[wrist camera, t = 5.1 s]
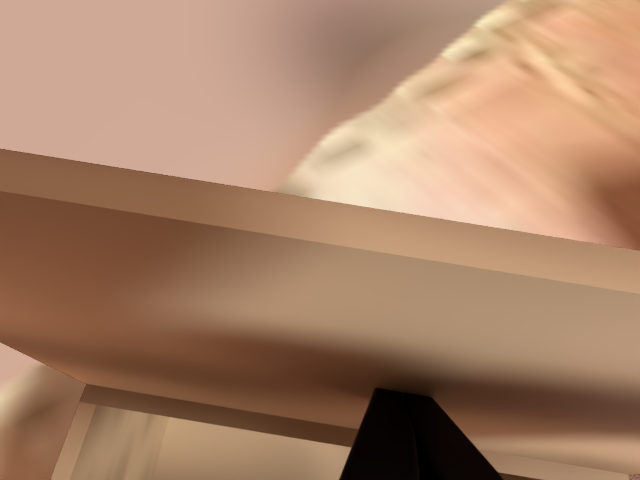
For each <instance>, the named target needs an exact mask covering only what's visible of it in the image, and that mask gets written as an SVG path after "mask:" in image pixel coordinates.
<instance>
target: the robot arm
mask: <svg viewBox="0 0 640 480" xmlns="http://www.w3.org/2000/svg"><path fill="white" fill-rule="evenodd" d="M339 480H505V479H504V478H503V477H502V476H501V475H500V474H499V473H498V472H497V470H496V469H495V468H494V467H493V466H492V465H491V464H490V462H489V461H488V460H487V459H486V458H485V457H484V456H483V454H482V453H481V452H480V451H479V450H478V449H477V448H476V446H475V445H474V444H473V443H472V442H471V441H470V440H469V439H468V437H467V436H466V435H465V434H464V433H463V432H462V431H461V429H460V428H459V427H458V426H457V425H456V424H455V423H454V421H453V420H452V419H451V418H450V417H449V416H448V415H447V413H446V412H445V411H444V410H443V409H442V408H441V407H440V406H439V404H438V403H437V402H436V401H435V400H434V399H433V398H432V397H429V396H423V395H417V394H411V393H404V394H403V393H402V392H399V391H393V390H386V389H380V388H375V389H374V391H373V394H372V396H371V399H370V401H369V404H368V407H367V409H366V412H365V414H364V417H363V419H362V422H361V424H360V427H359V430H358V432H357V435H356V437H355V440H354V442H353V445H352V447H351V450H350V453H349V455H348V458H347V460H346V463H345V465H344V468H343V470H342V473H341V476H340V478H339Z"/></svg>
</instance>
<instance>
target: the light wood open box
mask: <svg viewBox="0 0 640 480" xmlns="http://www.w3.org/2000/svg"><path fill="white" fill-rule="evenodd" d="M358 430H359V429H353V428H347V427H341V426H335V425H329V424H323V423H317V422H311V421H305V420H299V419H293V418H287V417H281V416H275V415H269V414H263V413H257V412H251V411H245V410H239V409H233V408H227V407H221V406H215V405H209V404H203V403H197V402H191V401H186V400H180V399H174V398H168V397H162V396H156V395H150V394H144V393H138V392H132V391H126V390H120V389H114V388H108V387H102V386H96V385H90V384H86V386H85V389H84V391H83V394H82V397H81V399H80V402H79V405H78V407H77V410H76V413H75V415H74V418H73V421H72V423H71V426H70V429H69V431H68V434H67V437H66V439H65V442H64V445H63V447H62V450H61V453H60V455H59V458H58V461H57V463H56V466H55V469H54V471H53V474H52V477H51V479H50V480H339V478H340V476H341V473H342V470H343V468H344V465H345V463H346V460H347V458H348V455H349V453H350V450H351V447H352V445H353V442H354V440H355V437H356V435H357V432H358ZM478 450H479V449H478ZM479 451H480V452H481V453H482V454H483V456H484V457H485V458H486V459H487V460H488V461H489V462H490V464H491V465H492V466H493V467H494V468H495V469H496V470H497V472H498V473H499V474H500V475H501V476H502V477H503V478H504V479H505V480H630V479H629V475H628V474H622V473H616V472H610V471H604V470H598V469H592V468H586V467H580V466H574V465H568V464H562V463H556V462H550V461H544V460H539V459H533V458H527V457H521V456H515V455H509V454H503V453H497V452H491V451H485V450H479Z"/></svg>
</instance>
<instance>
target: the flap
mask: <svg viewBox="0 0 640 480" xmlns="http://www.w3.org/2000/svg"><path fill="white" fill-rule="evenodd" d="M0 342H1V343H3V344H5V345H7V346H9V347H11V348H13V349H15V350H17V351H19V352H21V353H23V354H25V355H28V356H30V357H32V358H34V359H36V360H38V361H40V362H42V363H44V364H46V365H48V366H50V367H52V368H54V369H56V370H59V371H61V372H63V373H65V374H67V375H69V376H71V377H73V378H75V379H77V380H79V381H81V382H83V383H85V384H90V385H96V386H102V387H108V388H114V389H120V390H126V391H132V392H138V393H144V394H150V395H156V396H162V397H168V398H174V399H180V400H186V401H191V402H197V403H203V404H209V405H215V406H221V407H227V408H233V409H239V410H245V411H251V412H257V413H263V414H269V415H275V416H281V417H287V418H293V419H299V420H305V421H311V422H317V423H323V424H329V425H335V426H341V427H347V428H353V429H359V427H360V424H361V422H362V419H363V417H364V414H365V412H366V409H367V407H368V404H369V401H370V399H371V396H372V394H373V391H374V389H375V388H380V389H386V390H393V391H399V392H402V393H403V394H404V393H411V394H417V395H423V396H429V397H432V398H433V399H434V400H435V401H436V402H437V403H438V404H439V406H440V407H441V408H442V409H443V410H444V411H445V412H446V413H447V415H448V416H449V417H450V418H451V419H452V420H453V421H454V423H455V424H456V425H457V426H458V427H459V428H460V429H461V431H462V432H463V433H464V434H465V435H466V436H467V437H468V439H469V440H470V441H471V442H472V443H473V444H474V445H475V446H476V448H477V449H479V450H485V451H491V452H497V453H503V454H509V455H515V456H521V457H527V458H533V459H539V460H544V461H550V462H556V463H562V464H568V465H574V466H580V467H586V468H592V469H598V470H604V471H610V472H616V473H622V474H628V475H635V474H640V251H639V250H632V249H626V248H620V247H613V246H607V245H601V244H595V243H588V242H582V241H576V240H569V239H563V238H557V237H551V236H544V235H538V234H532V233H526V232H519V231H513V230H507V229H500V228H494V227H488V226H482V225H475V224H469V223H463V222H457V221H450V220H444V219H438V218H431V217H425V216H419V215H413V214H406V213H400V212H394V211H387V210H381V209H375V208H369V207H362V206H356V205H350V204H344V203H337V202H331V201H325V200H318V199H312V198H306V197H300V196H293V195H287V194H281V193H275V192H268V191H262V190H256V189H249V188H243V187H237V186H231V185H224V184H218V183H211V182H205V181H199V180H193V179H186V178H180V177H174V176H168V175H162V174H155V173H149V172H143V171H136V170H130V169H124V168H118V167H111V166H105V165H99V164H92V163H86V162H80V161H73V160H67V159H61V158H55V157H48V156H42V155H36V154H30V153H23V152H17V151H11V150H5V149H0Z"/></svg>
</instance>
